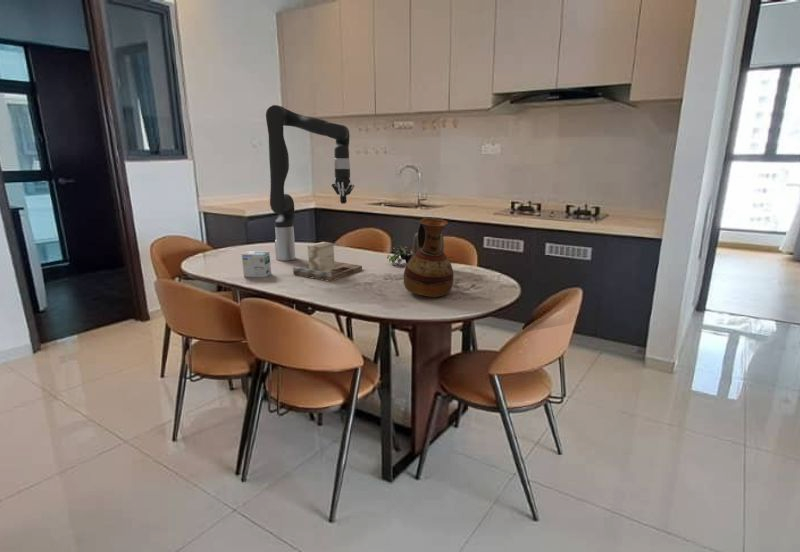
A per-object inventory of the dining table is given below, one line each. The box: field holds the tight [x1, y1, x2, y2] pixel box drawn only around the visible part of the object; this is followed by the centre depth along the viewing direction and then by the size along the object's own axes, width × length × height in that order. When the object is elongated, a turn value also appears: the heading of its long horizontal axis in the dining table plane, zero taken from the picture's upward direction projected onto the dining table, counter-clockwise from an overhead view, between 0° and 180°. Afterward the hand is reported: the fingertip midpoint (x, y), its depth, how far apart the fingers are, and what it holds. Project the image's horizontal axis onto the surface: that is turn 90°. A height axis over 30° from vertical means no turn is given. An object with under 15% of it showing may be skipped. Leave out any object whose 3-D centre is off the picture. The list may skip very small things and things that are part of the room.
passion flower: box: [386, 245, 413, 267], centre depth 229 cm, size 11×11×12 cm
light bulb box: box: [241, 250, 272, 278], centre depth 211 cm, size 11×7×11 cm, turn 84°
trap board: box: [292, 260, 363, 282], centre depth 217 cm, size 22×23×4 cm
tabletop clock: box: [411, 216, 445, 255], centre depth 217 cm, size 14×9×25 cm, turn 83°
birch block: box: [307, 241, 335, 272], centre depth 212 cm, size 6×10×12 cm, turn 148°
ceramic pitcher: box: [403, 217, 454, 297], centre depth 182 cm, size 20×20×30 cm
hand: (343, 203), depth 232 cm, fingers closed
